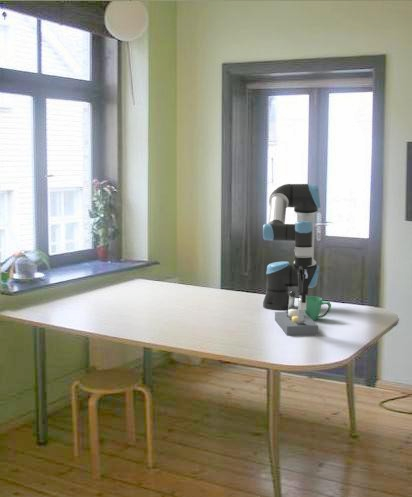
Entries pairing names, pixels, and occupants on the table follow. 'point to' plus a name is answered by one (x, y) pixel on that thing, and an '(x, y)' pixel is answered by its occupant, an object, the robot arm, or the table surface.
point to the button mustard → (294, 318)
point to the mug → (315, 307)
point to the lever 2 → (300, 313)
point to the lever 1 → (291, 300)
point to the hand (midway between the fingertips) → (302, 309)
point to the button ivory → (292, 313)
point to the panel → (296, 325)
